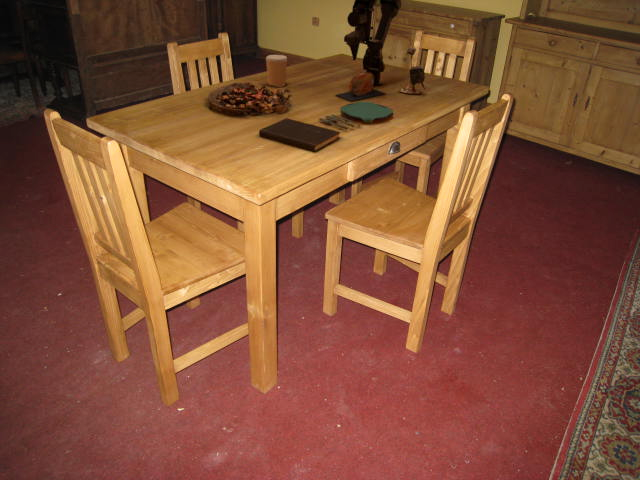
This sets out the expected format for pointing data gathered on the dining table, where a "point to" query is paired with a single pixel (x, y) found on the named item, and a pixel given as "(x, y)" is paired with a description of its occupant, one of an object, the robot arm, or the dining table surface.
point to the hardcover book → (300, 134)
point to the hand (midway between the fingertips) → (361, 62)
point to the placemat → (352, 97)
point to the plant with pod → (414, 75)
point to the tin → (362, 84)
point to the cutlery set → (360, 113)
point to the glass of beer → (276, 69)
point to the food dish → (248, 100)
